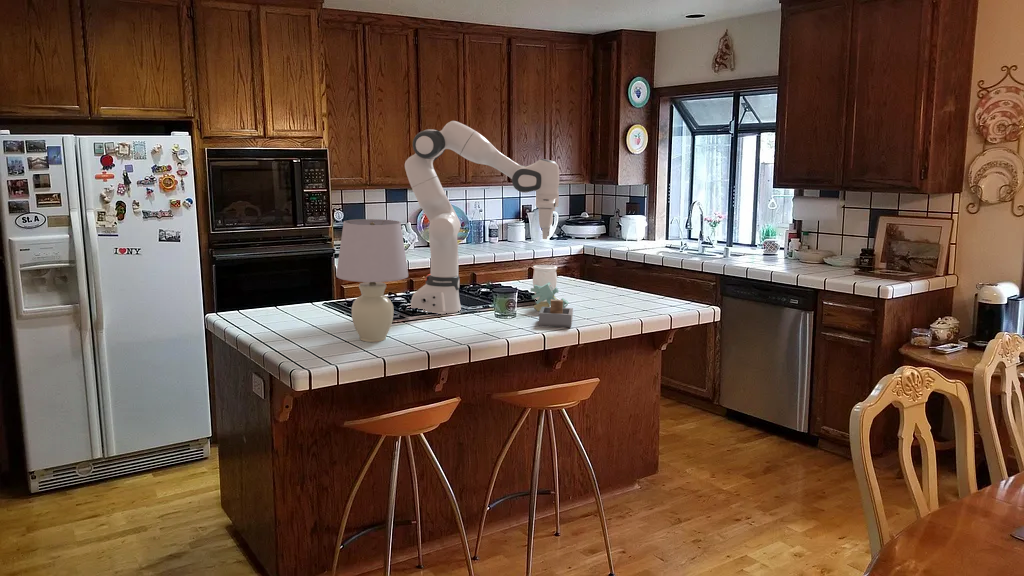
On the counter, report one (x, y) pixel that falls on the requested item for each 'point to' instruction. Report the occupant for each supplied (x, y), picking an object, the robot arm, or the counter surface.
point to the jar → (544, 276)
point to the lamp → (372, 271)
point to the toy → (545, 296)
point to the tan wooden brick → (556, 306)
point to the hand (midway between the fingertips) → (545, 237)
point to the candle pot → (555, 317)
